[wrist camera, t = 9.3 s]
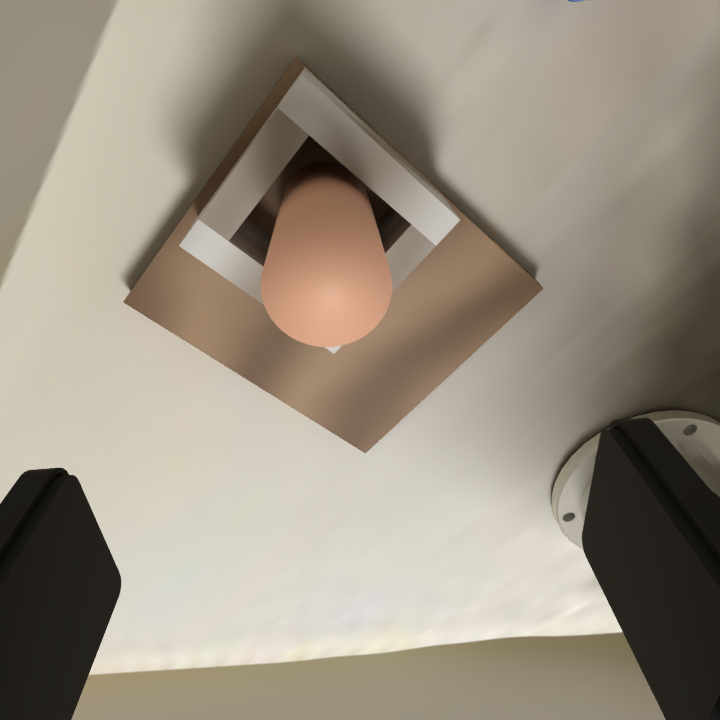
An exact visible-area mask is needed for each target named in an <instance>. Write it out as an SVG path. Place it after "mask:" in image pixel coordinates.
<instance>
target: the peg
mask: <svg viewBox="0 0 720 720" xmlns="http://www.w3.org/2000/svg"><path fill="white" fill-rule="evenodd" d="M261 295H262V300H263V303H264V306H265V308H266V311H267V313H268V314H269V316H270V318H271V319H272V321H273V322H274V323H275V324H276V325H277V326H278V327H279V328H280V329H281V330H282V331H283V332H284V333H286V334H287V335H288V336H290V337H292V338H293V339H295V340H297V341H300V342H302V343H305V344H308V345H312V346H318V347H336V346H342V345H346V344H349V343H352V342H354V341H356V340H359V339H360V338H362V337H364V336H365V335H367V334H368V333H369V332H371V331H372V330H373V329H374V328H375V327H376V326H377V325H378V324H379V322H380V321H381V320H382V318H383V317H384V315H385V313H386V311H387V309H388V307H389V304H390V300H391V295H392V277H391V272H390V269H389V265H388V262H387V258H386V255H385V252H384V248H383V245H382V241H381V238H380V235H379V231H378V228H377V224H376V221H375V217H374V214H373V211H372V207H371V204H370V200H369V197H368V194H367V190H366V188H365V186H364V184H363V182H362V181H361V180H360V179H359V178H358V177H356V176H355V175H354V174H353V173H352V172H351V171H350V170H348V169H347V168H346V167H345V166H344V165H342V164H339V163H336V162H332V161H319V162H314V163H311V164H308V165H306V166H304V167H302V168H301V169H300V170H298V171H297V172H296V173H295V174H294V175H293V176H292V177H291V179H290V180H289V182H288V183H287V186H286V188H285V191H284V194H283V198H282V201H281V205H280V209H279V212H278V216H277V220H276V223H275V227H274V231H273V234H272V238H271V242H270V245H269V249H268V253H267V256H266V260H265V263H264V267H263V271H262V276H261Z"/></svg>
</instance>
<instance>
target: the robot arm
mask: <svg viewBox="0 0 720 720" xmlns="http://www.w3.org/2000/svg"><path fill="white" fill-rule="evenodd" d="M552 509H553V512H554V516H555V519H556V521H557V523H558V525H559V526H560V528H561V530H562V532H563V534H564V535H565V536H566V537H567V538H568V539H569V540H570V541H571V542H572V543H574V544H575V545H577V546H578V547H580V548H582V549H584V553H585V555H586V558H587V560H588V562H589V564H590V566H591V568H592V570H593V572H594V574H595V576H596V578H597V580H598V582H599V584H600V586H601V588H602V590H603V592H604V594H605V596H606V598H607V600H608V602H609V604H610V606H611V609H612V611H613V613H614V615H615V617H616V619H617V621H618V623H619V625H620V627H621V629H622V631H623V633H624V635H625V637H626V639H627V641H628V643H629V645H630V647H631V649H632V651H633V653H634V655H635V657H636V660H637V662H638V663H639V666H640V668H641V670H642V672H643V674H644V676H645V678H646V680H647V682H648V684H649V686H650V688H651V690H652V692H653V694H654V696H655V698H656V700H657V702H658V704H659V706H660V709H661V711H662V712H663V715H664V717H665V719H666V720H720V422H718V421H716V420H714V419H712V418H710V417H709V416H706V415H702V414H699V413H695V412H690V411H678V410H671V411H659V412H652V413H648V414H644V415H639V416H635V417H633V418H630V419H623V420H615V421H613V422H612V423H611V424H610V427H609V428H607V429H605V430H602V432H600V433H599V434H597V435H596V436H594V437H593V438H592V439H590V440H589V441H587V442H586V443H585V444H584V445H583V446H582V447H580V448H579V449H578V450H577V451H576V452H575V453H574V454H573V455H572V456H571V457H570V459H569V460H568V461H567V463H566V464H565V465H564V467H563V468H562V470H561V472H560V474H559V476H558V478H557V480H556V482H555V485H554V489H553V493H552ZM120 590H121V576H120V573H119V571H118V568H117V566H116V564H115V562H114V559H113V557H112V555H111V553H110V550H109V548H108V546H107V544H106V541H105V539H104V537H103V535H102V532H101V530H100V528H99V526H98V523H97V521H96V519H95V516H94V514H93V512H92V510H91V507H90V505H89V503H88V501H87V498H86V496H85V494H84V492H83V489H82V487H81V485H80V483H79V480H78V479H77V477H75V476H74V475H69V474H68V472H67V471H66V470H65V469H63V468H50V469H38V470H28V471H26V472H24V473H23V474H22V475H21V476H20V477H19V479H18V480H17V481H16V483H15V484H14V486H13V487H12V488H11V490H10V491H9V493H8V494H7V495H6V497H5V498H4V500H3V501H2V502H1V504H0V720H71V719H72V716H73V714H74V711H75V708H76V706H77V703H78V701H79V698H80V695H81V693H82V690H83V688H84V685H85V683H86V680H87V677H88V675H89V672H90V670H91V667H92V664H93V662H94V659H95V657H96V654H97V652H98V649H99V646H100V644H101V641H102V639H103V636H104V633H105V631H106V628H107V626H108V623H109V620H110V618H111V615H112V613H113V610H114V608H115V605H116V602H117V600H118V597H119V594H120Z"/></svg>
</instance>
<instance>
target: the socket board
mask: <svg viewBox="0 0 720 720" xmlns="http://www.w3.org/2000/svg"><path fill="white" fill-rule="evenodd" d="M319 161H332V162H336V163H339V164H342V165H344V166H345V167H346V168H347V169H348V170H350V171H351V172H352V173H353V174H354V175H355V176H356V177H358V178H359V179H360V180H361V181H362V182H363V184H364V186H365V188H366V190H367V194H368V197H369V200H370V204H371V207H372V211H373V214H374V217H375V221H376V224H377V228H378V231H379V235H380V238H381V241H382V245H383V248H384V252H385V255H386V258H387V262H388V265H389V269H390V272H391V277H392V295H391V300H390V304H389V307H388V309H387V311H386V313H385V315H384V317H383V318H382V320H381V321H380V322H379V324H378V325H377V326H376V327H375V328H374V329H373V330H372V331H371V332H369V333H368V334H367V335H365V336H364V337H362V338H360V339H359V340H356V341H354V342H352V343H349V344H346V345H342V346H336V347H318V346H312V345H308V344H305V343H302V342H300V341H297V340H295V339H293V338H292V337H290V336H288V335H287V334H286V333H284V332H283V331H282V330H281V329H280V328H279V327H278V326H277V325H276V324H275V323H274V322H273V321H272V319H271V318H270V316H269V314H268V313H267V311H266V308H265V306H264V303H263V300H262V295H261V276H262V271H263V267H264V263H265V260H266V256H267V253H268V249H269V245H270V242H271V238H272V234H273V231H274V227H275V223H276V220H277V216H278V212H279V209H280V205H281V201H282V198H283V194H284V191H285V188H286V186H287V183H288V182H289V180H290V179H291V177H292V176H293V175H294V174H295V173H296V172H297V171H298V170H300V169H301V168H302V167H304V166H306V165H308V164H311V163H314V162H319ZM542 289H543V287H542V286H541V285H540V284H539V283H538V282H537V280H536V279H535V278H534V277H533V276H531V275H530V274H529V273H528V272H527V271H526V270H525V269H524V268H523V267H522V266H521V265H520V264H519V263H517V262H516V261H515V260H514V259H513V258H512V257H511V256H510V255H509V254H508V253H507V252H506V251H505V250H503V249H502V248H501V247H500V246H499V245H498V244H497V243H496V242H495V241H494V240H493V239H492V238H491V237H489V236H488V235H487V234H486V233H485V232H484V231H483V230H482V229H481V228H480V227H479V226H478V225H477V224H475V223H474V222H473V221H472V220H471V219H470V218H469V217H468V216H467V215H466V214H465V213H464V212H463V211H462V210H460V209H459V208H458V207H457V206H456V205H455V204H454V203H453V202H452V201H451V200H450V199H449V198H448V197H446V196H445V195H444V194H443V193H442V192H441V191H440V190H439V189H438V188H437V187H436V186H435V185H434V184H432V183H431V182H430V181H429V180H428V179H427V178H426V177H425V176H424V175H423V174H422V173H421V172H420V171H418V170H417V169H416V168H415V167H414V166H413V165H412V164H411V163H410V162H409V161H408V160H407V159H406V158H404V157H403V156H402V155H401V154H400V153H399V152H398V151H397V150H396V149H395V148H394V147H393V146H392V145H390V144H389V143H388V142H387V141H386V140H385V139H384V138H383V137H382V136H381V135H380V134H379V133H378V132H377V131H375V130H374V129H373V128H372V127H371V126H370V125H369V124H368V123H367V122H366V121H365V120H364V119H363V118H361V117H360V116H359V115H358V114H357V113H356V112H355V111H354V110H353V109H352V108H351V107H350V106H349V105H347V104H346V103H345V102H344V101H343V100H342V99H341V98H340V97H339V96H338V95H337V94H336V93H335V92H333V91H332V90H331V89H330V88H329V87H328V86H327V85H326V84H325V83H324V82H323V81H322V80H321V79H319V78H318V77H317V76H316V75H315V74H314V73H313V72H312V71H311V70H310V69H309V68H308V67H307V66H306V65H304V64H303V63H302V62H301V61H300V60H299V59H298V58H297V57H296V58H295V59H294V60H293V62H292V63H291V65H290V66H289V68H288V69H287V70H286V72H285V73H284V75H283V76H282V77H281V79H280V80H279V82H278V83H277V85H276V86H275V87H274V89H273V90H272V92H271V93H270V94H269V96H268V97H267V99H266V100H265V102H264V103H263V104H262V106H261V107H260V109H259V110H258V112H257V113H256V114H255V116H254V117H253V119H252V120H251V121H250V123H249V124H248V126H247V127H246V129H245V130H244V131H243V133H242V134H241V136H240V137H239V138H238V140H237V141H236V143H235V144H234V146H233V147H232V148H231V150H230V151H229V153H228V154H227V156H226V157H225V158H224V160H223V161H222V163H221V164H220V165H219V167H218V168H217V170H216V171H215V173H214V174H213V175H212V177H211V178H210V180H209V181H208V182H207V184H206V185H205V187H204V188H203V190H202V191H201V192H200V194H199V195H198V197H197V198H196V200H195V201H194V202H193V204H192V205H191V207H190V208H189V209H188V211H187V212H186V214H185V215H184V217H183V218H182V219H181V221H180V222H179V224H178V225H177V226H176V228H175V229H174V231H173V232H172V234H171V235H170V236H169V238H168V239H167V241H166V242H165V243H164V245H163V246H162V248H161V249H160V251H159V252H158V253H157V255H156V256H155V258H154V259H153V261H152V262H151V263H150V265H149V266H148V268H147V269H146V270H145V272H144V273H143V275H142V276H141V278H140V279H139V280H138V282H137V283H136V285H135V286H134V287H133V289H132V290H131V292H130V293H129V295H128V296H127V297H126V299H125V300H124V303H125V304H127V305H129V306H130V307H132V308H133V309H135V310H137V311H138V312H140V313H141V314H143V315H145V316H146V317H148V318H150V319H151V320H153V321H154V322H156V323H158V324H159V325H161V326H162V327H164V328H166V329H167V330H169V331H170V332H172V333H174V334H175V335H177V336H178V337H180V338H182V339H183V340H185V341H186V342H188V343H190V344H191V345H193V346H194V347H196V348H198V349H199V350H201V351H202V352H204V353H206V354H207V355H209V356H210V357H212V358H214V359H215V360H217V361H218V362H220V363H222V364H223V365H225V366H226V367H228V368H230V369H231V370H233V371H234V372H236V373H238V374H239V375H241V376H242V377H244V378H246V379H247V380H249V381H250V382H252V383H254V384H255V385H257V386H258V387H260V388H262V389H263V390H265V391H266V392H268V393H270V394H271V395H273V396H274V397H276V398H278V399H279V400H281V401H282V402H284V403H286V404H287V405H289V406H290V407H292V408H294V409H295V410H297V411H298V412H300V413H302V414H303V415H305V416H306V417H308V418H310V419H311V420H313V421H314V422H316V423H318V424H319V425H321V426H323V427H324V428H326V429H327V430H329V431H331V432H332V433H334V434H335V435H337V436H339V437H340V438H342V439H343V440H345V441H347V442H348V443H350V444H351V445H353V446H355V447H356V448H358V449H359V450H361V451H363V452H364V453H366V452H367V451H368V450H370V449H371V448H372V447H373V446H374V445H375V444H376V443H377V442H378V441H379V440H380V439H381V438H382V437H384V436H385V435H386V434H387V433H388V432H389V431H390V430H391V429H392V428H393V427H394V426H395V425H397V424H398V423H399V422H400V421H401V420H402V419H403V418H404V417H405V416H406V415H407V414H408V413H409V412H411V411H412V410H413V409H414V408H415V407H416V406H417V405H418V404H419V403H420V402H421V401H422V400H423V399H425V398H426V397H427V396H428V395H429V394H430V393H431V392H432V391H433V390H434V389H435V388H436V387H438V386H439V385H440V384H441V383H442V382H443V381H444V380H445V379H446V378H447V377H448V376H449V375H450V374H452V373H453V372H454V371H455V370H456V369H457V368H458V367H459V366H460V365H461V364H462V363H463V362H464V361H466V360H467V359H468V358H469V357H470V356H471V355H472V354H473V353H474V352H475V351H476V350H477V349H478V348H480V347H481V346H482V345H483V344H484V343H485V342H486V341H487V340H488V339H489V338H490V337H491V336H493V335H494V334H495V333H496V332H497V331H498V330H499V329H500V328H501V327H502V326H503V325H504V324H505V323H507V322H508V321H509V320H510V319H511V318H512V317H513V316H514V315H515V314H516V313H517V312H518V311H519V310H521V309H522V308H523V307H524V306H525V305H526V304H527V303H528V302H529V301H530V300H531V299H532V298H534V297H535V296H536V295H537V294H538V293H539V292H540V291H541V290H542Z"/></svg>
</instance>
